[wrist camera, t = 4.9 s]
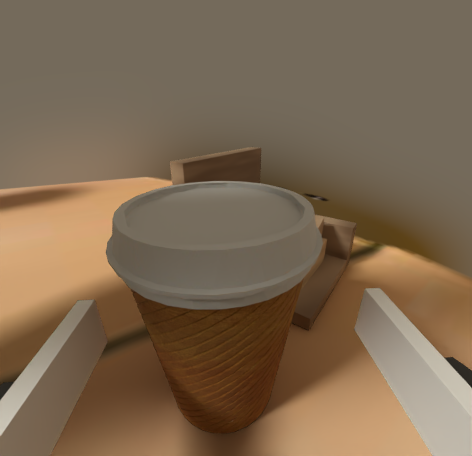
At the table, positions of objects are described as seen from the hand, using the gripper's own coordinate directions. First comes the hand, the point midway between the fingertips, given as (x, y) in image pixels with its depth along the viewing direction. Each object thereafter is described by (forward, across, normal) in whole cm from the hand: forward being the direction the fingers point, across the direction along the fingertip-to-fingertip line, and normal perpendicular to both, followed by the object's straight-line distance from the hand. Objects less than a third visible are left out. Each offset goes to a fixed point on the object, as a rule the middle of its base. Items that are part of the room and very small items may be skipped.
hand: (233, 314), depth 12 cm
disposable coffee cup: (+1, -1, -7) cm, 7 cm away
